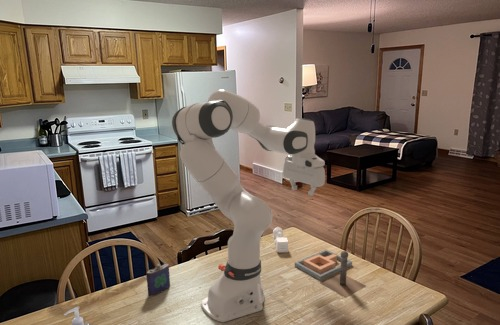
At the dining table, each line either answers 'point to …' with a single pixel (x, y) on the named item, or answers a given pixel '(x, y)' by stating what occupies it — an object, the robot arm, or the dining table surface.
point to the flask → (158, 279)
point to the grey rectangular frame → (326, 274)
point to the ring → (327, 263)
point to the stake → (343, 280)
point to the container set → (280, 240)
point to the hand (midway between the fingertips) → (302, 192)
